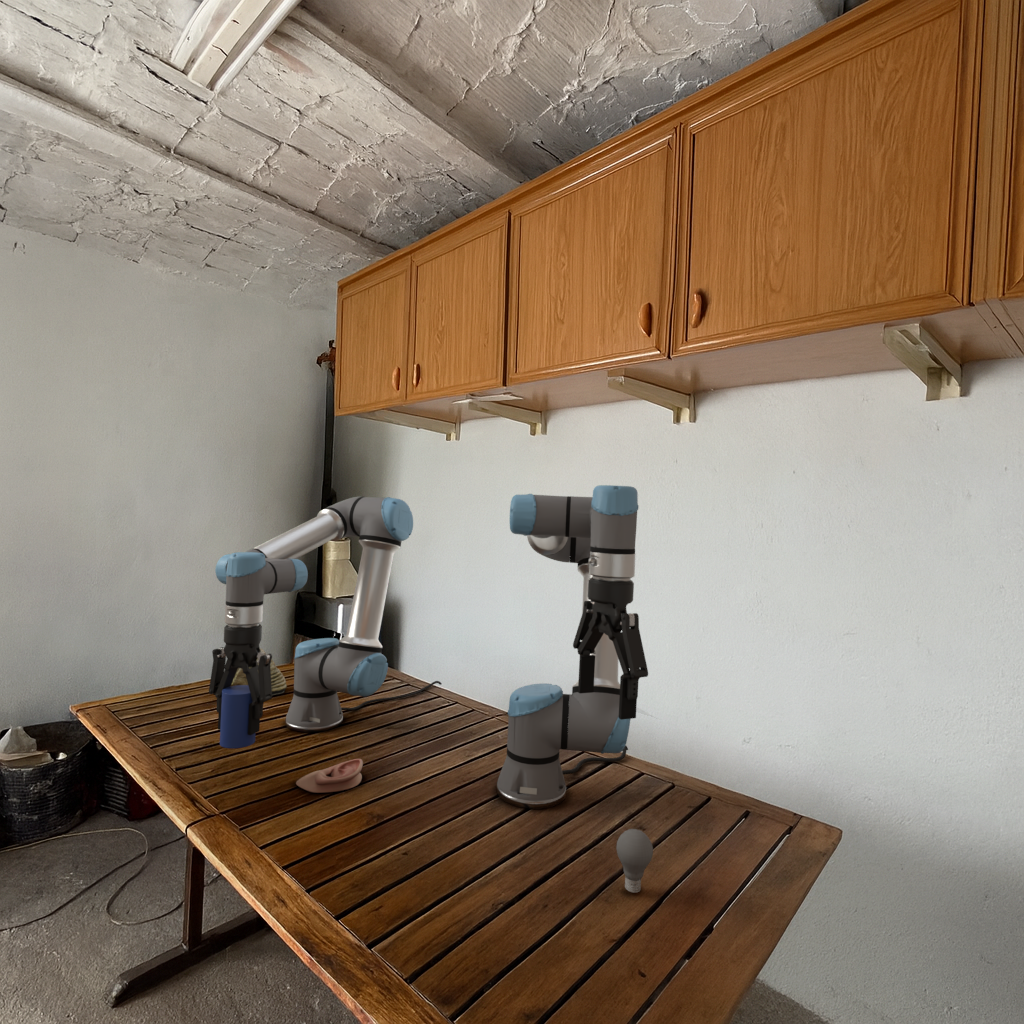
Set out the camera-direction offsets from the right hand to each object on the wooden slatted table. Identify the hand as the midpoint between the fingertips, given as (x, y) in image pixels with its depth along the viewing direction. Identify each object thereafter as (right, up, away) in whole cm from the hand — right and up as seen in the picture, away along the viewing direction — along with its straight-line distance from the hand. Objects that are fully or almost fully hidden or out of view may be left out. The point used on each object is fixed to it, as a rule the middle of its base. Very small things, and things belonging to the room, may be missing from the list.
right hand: (605, 704), depth 106 cm
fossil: (-96, -25, +92) cm, 136 cm away
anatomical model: (-56, -28, +35) cm, 71 cm away
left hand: (-75, -15, +31) cm, 82 cm away
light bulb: (+5, -31, 0) cm, 31 cm away
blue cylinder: (-75, -18, +31) cm, 83 cm away
